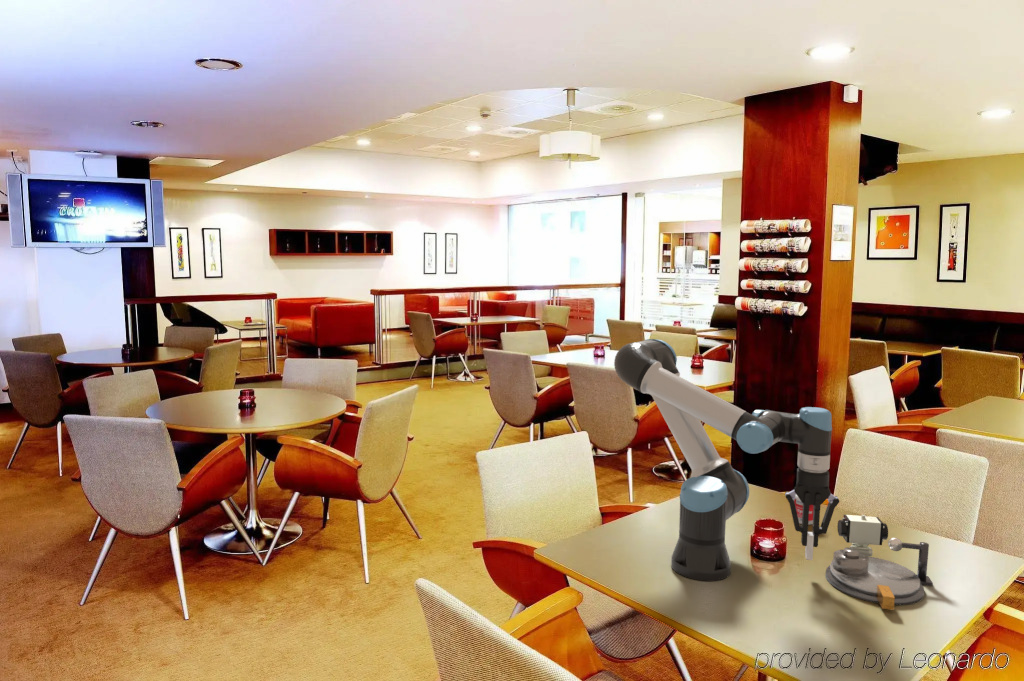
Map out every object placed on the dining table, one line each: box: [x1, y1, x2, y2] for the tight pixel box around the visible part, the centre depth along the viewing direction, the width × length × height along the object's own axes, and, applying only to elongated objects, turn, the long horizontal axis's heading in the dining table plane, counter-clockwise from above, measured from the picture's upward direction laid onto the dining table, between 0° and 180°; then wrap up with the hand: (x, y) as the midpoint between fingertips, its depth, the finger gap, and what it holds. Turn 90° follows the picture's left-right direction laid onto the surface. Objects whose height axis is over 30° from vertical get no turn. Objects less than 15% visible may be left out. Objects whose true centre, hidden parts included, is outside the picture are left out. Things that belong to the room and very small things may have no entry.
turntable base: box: [825, 565, 925, 606], centre depth 174 cm, size 22×22×1 cm
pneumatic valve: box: [837, 514, 889, 557], centre depth 189 cm, size 6×12×12 cm, turn 78°
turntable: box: [829, 556, 920, 611], centre depth 171 cm, size 20×26×3 cm
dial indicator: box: [887, 537, 934, 587], centre depth 176 cm, size 10×4×11 cm, turn 73°
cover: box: [832, 547, 869, 577], centre depth 175 cm, size 8×8×5 cm
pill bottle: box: [794, 494, 814, 526], centre depth 215 cm, size 6×6×11 cm
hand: (808, 557), depth 178 cm, fingers closed
